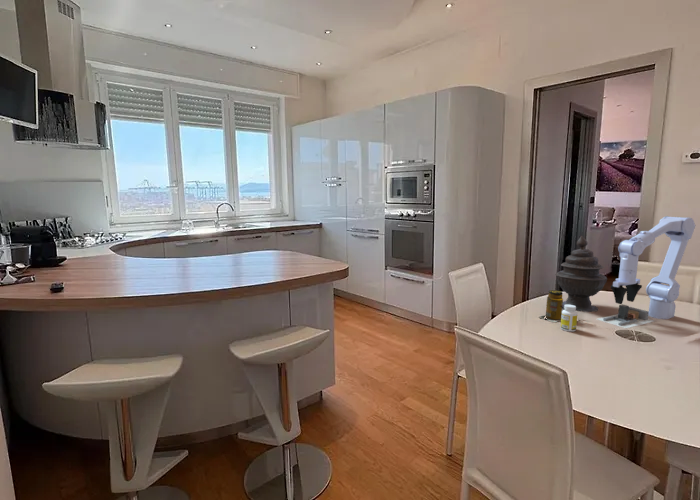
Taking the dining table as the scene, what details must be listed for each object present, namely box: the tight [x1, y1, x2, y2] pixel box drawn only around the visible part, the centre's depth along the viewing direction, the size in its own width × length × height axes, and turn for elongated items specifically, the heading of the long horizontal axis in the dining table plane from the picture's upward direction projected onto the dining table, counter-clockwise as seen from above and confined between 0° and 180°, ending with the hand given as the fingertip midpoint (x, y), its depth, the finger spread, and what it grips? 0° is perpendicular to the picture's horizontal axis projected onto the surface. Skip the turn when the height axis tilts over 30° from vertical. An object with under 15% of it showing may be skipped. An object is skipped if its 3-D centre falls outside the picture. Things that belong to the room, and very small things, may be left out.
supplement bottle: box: [560, 304, 578, 333], centre depth 150 cm, size 5×5×10 cm
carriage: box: [615, 303, 635, 322], centre depth 157 cm, size 6×4×6 cm
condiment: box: [538, 289, 564, 323], centre depth 163 cm, size 7×8×12 cm
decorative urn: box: [555, 235, 608, 313], centre depth 174 cm, size 20×20×35 cm
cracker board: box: [596, 306, 656, 329], centre depth 158 cm, size 20×12×5 cm, turn 114°
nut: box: [628, 310, 639, 320], centre depth 159 cm, size 4×4×3 cm
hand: (624, 302), depth 156 cm, fingers open, 7 cm apart
